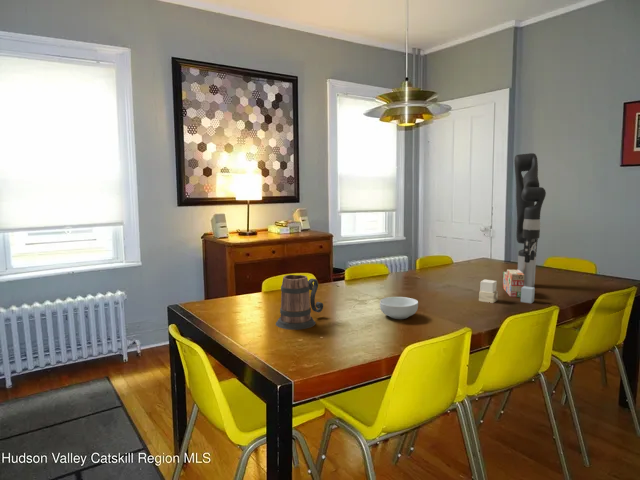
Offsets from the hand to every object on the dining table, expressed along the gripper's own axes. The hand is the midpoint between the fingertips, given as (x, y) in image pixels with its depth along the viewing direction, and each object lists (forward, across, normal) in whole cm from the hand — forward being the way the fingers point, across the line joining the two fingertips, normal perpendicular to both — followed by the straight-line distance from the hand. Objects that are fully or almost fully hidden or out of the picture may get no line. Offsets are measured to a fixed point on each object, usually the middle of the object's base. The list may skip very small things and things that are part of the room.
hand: (529, 261), depth 222 cm
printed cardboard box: (+21, -15, -11) cm, 28 cm away
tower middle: (+15, +10, -16) cm, 24 cm away
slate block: (+20, 0, 0) cm, 20 cm away
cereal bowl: (+21, +62, -38) cm, 76 cm away
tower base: (+20, +10, -16) cm, 28 cm away
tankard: (+21, +94, -67) cm, 117 cm away
